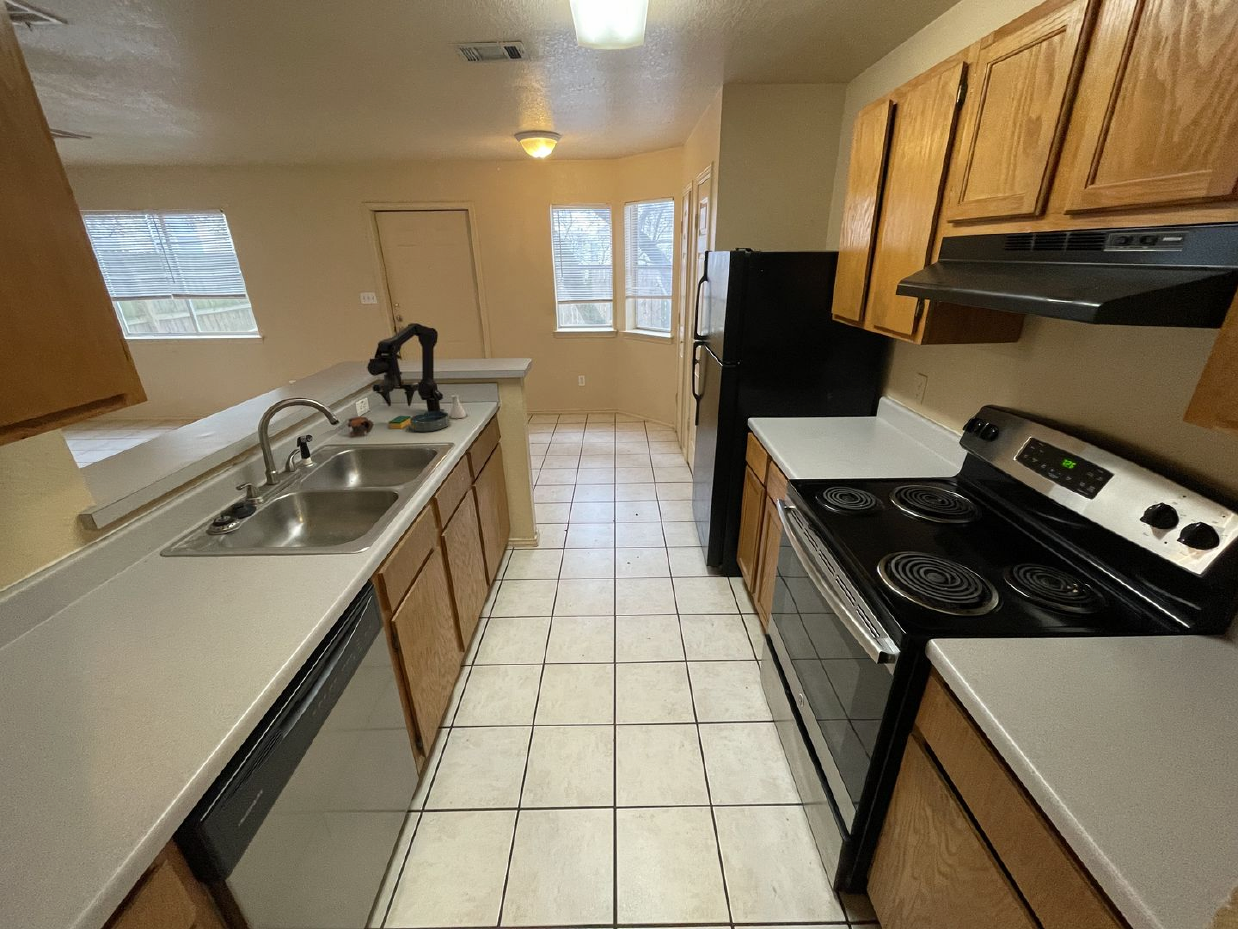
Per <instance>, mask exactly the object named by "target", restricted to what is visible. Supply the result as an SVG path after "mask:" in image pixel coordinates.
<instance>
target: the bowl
mask: <svg viewBox="0 0 1238 929" xmlns="http://www.w3.org/2000/svg"><path fill="white" fill-rule="evenodd" d="M409 425H410V428H411V430H412V431H415V432H423V433H426V432H427V433H429V432H435V431H440V430H443V429H445V428H447V427H449V426H450V425H451V416H450V414H449V412H446V411H442V412H427V411H425V412H422V413H418V414H415V415H413V416H411V418H410V423H409Z"/></svg>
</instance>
